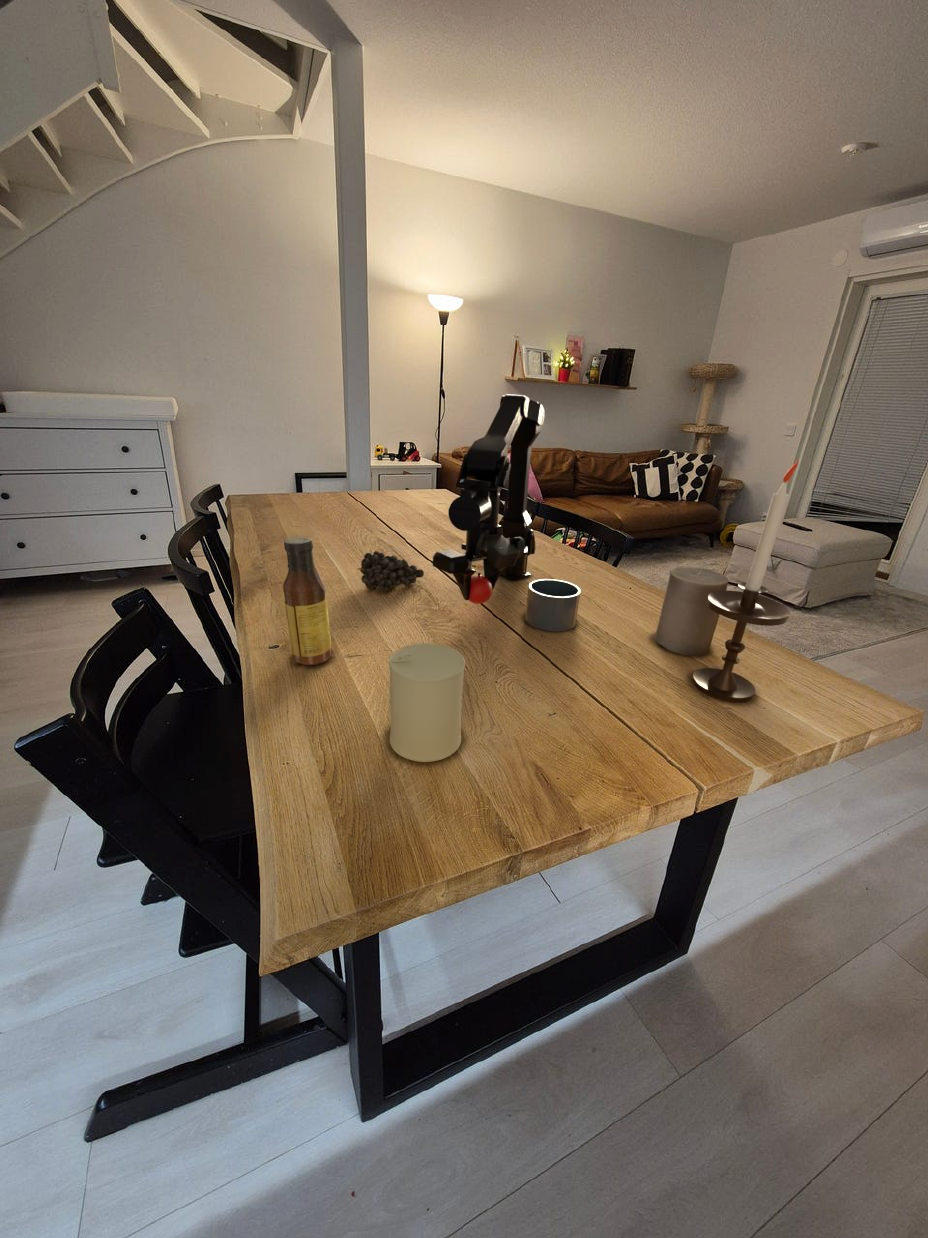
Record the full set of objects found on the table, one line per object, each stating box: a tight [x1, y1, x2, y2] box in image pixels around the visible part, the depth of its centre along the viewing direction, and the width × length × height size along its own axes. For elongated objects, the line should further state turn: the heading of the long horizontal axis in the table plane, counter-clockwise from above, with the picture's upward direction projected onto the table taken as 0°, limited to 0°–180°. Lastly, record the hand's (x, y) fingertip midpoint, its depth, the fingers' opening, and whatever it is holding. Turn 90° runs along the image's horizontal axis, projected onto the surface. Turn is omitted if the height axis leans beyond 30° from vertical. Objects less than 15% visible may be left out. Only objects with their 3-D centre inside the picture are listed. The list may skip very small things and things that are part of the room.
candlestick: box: [691, 459, 799, 704], centre depth 73 cm, size 11×11×35 cm
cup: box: [524, 578, 582, 632], centre depth 99 cm, size 10×10×7 cm
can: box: [388, 642, 466, 763], centre depth 62 cm, size 9×9×12 cm
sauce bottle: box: [282, 536, 332, 666], centre depth 78 cm, size 7×6×20 cm
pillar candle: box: [654, 565, 730, 656], centre depth 91 cm, size 10×10×15 cm
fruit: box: [356, 550, 425, 593], centre depth 111 cm, size 9×8×15 cm
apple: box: [468, 571, 493, 605], centre depth 98 cm, size 6×6×6 cm
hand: (477, 596), depth 99 cm, fingers closed on apple, 5 cm apart
